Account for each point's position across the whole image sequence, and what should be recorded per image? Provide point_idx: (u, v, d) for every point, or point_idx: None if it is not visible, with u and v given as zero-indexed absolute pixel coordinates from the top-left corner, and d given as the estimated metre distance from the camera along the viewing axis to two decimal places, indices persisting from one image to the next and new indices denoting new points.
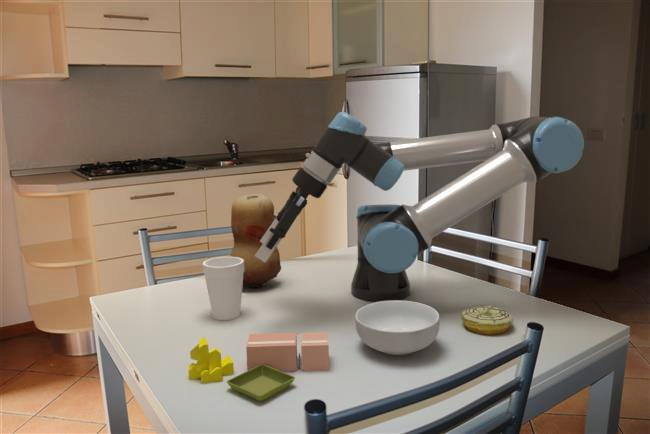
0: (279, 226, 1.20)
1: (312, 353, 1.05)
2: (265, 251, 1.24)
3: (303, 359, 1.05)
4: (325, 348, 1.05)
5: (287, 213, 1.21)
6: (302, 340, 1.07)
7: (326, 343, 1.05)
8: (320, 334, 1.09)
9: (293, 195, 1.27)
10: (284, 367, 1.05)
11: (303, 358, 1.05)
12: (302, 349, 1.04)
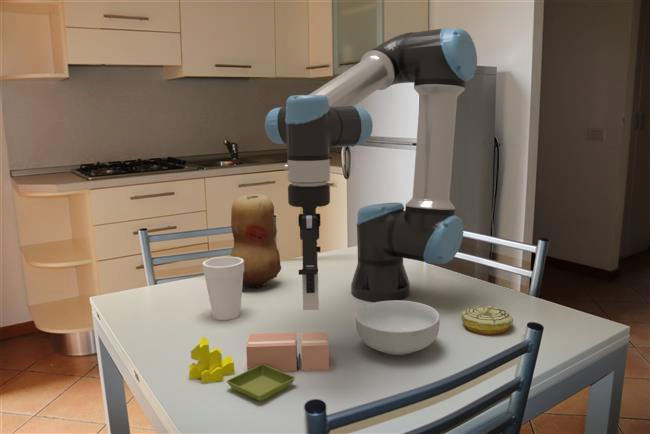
0: (305, 263, 0.95)
1: (312, 353, 1.05)
2: (310, 297, 0.99)
3: (303, 359, 1.05)
4: (325, 348, 1.05)
5: (304, 244, 0.96)
6: (302, 340, 1.07)
7: (326, 343, 1.05)
8: (320, 334, 1.09)
9: (300, 219, 1.01)
10: (284, 367, 1.05)
11: (303, 358, 1.05)
12: (302, 349, 1.04)
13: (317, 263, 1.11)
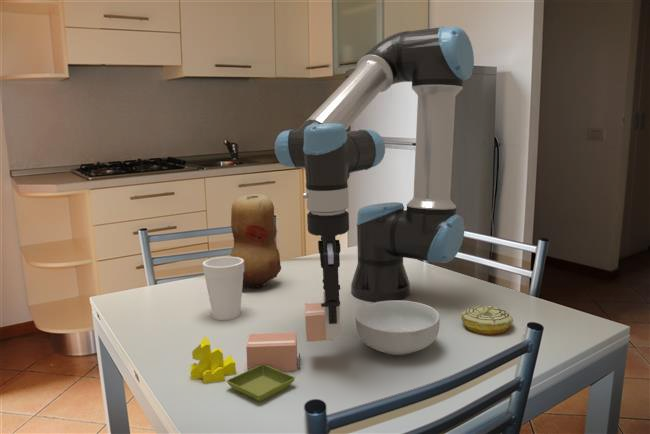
0: (327, 299, 0.99)
1: (316, 323, 1.04)
2: (332, 327, 1.04)
3: (307, 329, 1.04)
4: None
5: (326, 280, 0.99)
6: (306, 310, 1.06)
7: None
8: None
9: (320, 248, 1.02)
10: (284, 367, 1.05)
11: (307, 328, 1.04)
12: (306, 319, 1.04)
13: None
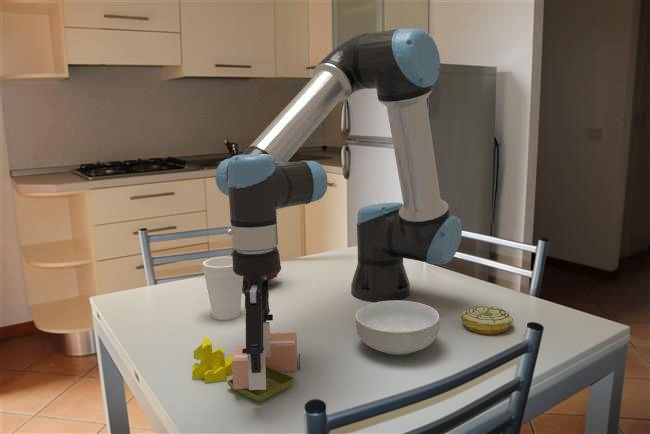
0: (248, 343, 0.87)
1: (244, 369, 0.95)
2: (256, 377, 0.91)
3: (234, 375, 0.95)
4: None
5: (247, 321, 0.88)
6: (234, 354, 0.97)
7: None
8: None
9: (246, 289, 0.93)
10: (284, 367, 1.05)
11: (234, 374, 0.95)
12: (233, 364, 0.95)
13: (269, 333, 1.03)
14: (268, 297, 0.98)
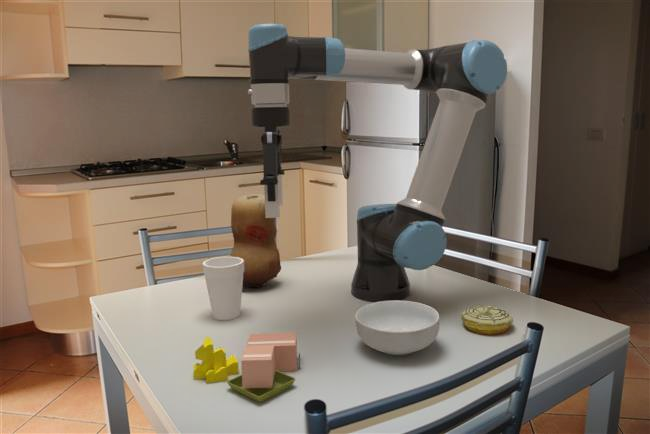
0: (265, 173, 1.06)
1: (253, 369, 0.95)
2: (271, 206, 1.10)
3: (243, 375, 0.96)
4: (268, 363, 0.95)
5: (265, 156, 1.07)
6: (244, 354, 0.97)
7: (269, 358, 0.96)
8: (265, 347, 1.00)
9: (263, 138, 1.13)
10: (284, 367, 1.05)
11: (243, 374, 0.96)
12: (242, 364, 0.95)
13: (281, 184, 1.23)
14: None
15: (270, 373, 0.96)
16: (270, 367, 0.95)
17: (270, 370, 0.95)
